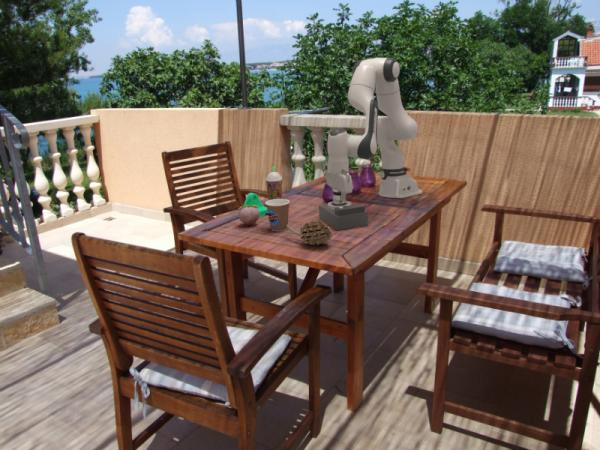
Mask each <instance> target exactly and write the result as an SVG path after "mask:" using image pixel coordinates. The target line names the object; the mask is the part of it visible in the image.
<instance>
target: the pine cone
mask: <svg viewBox="0 0 600 450" xmlns="http://www.w3.org/2000/svg"><path fill="white" fill-rule="evenodd" d="M329 226H330V225H328V226H327V225H326V224H325V222H322V220H320V219H316V220H312V221H310V222H305V223H304V224H303V226H301V227H300V230H299V231H297V230H296V229H293V228H292V227H291V226H290V225H289V224H288V225H287V226H286V227H287V229H286V230H288V231H290V232H291V233H292V234H294V235H296V236H300V239H301V240H302V241H303V243H304V244H306V245H307V244H308V245H313V246H315V244H316V245H317V246H319V245H321V244H324V245H325V244H327V243H328V241H330V240H331V239H332V238H333V231H332V230H331V229H330V227H329Z"/></svg>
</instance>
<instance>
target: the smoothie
mask: <svg viewBox="0 0 600 450" xmlns="http://www.w3.org/2000/svg"><path fill="white" fill-rule="evenodd" d="M265 183H266V185H265V186H266V192H267V198H268V199H267V201H269V200H273V199H283V177H282V175H281V174H280V173H279V172H278V171H275V167H274V166H273V165H272V171H271V172H269V173H268V174H267V175H266V178H265Z"/></svg>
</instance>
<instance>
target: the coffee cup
mask: <svg viewBox="0 0 600 450" xmlns="http://www.w3.org/2000/svg"><path fill="white" fill-rule="evenodd" d="M290 202H291V201H290V200H289V199H285V198H282V199H273V200H269V201H268V200H266V201H265V207H267V212H268V213H267V216H268V221H269V222H268V223H269V226H270V229H271V231H272V232H277V231H278V232H284V230H285V231H287V230H288V229H287V227H286V226H287V225H288V226H289V213H290V211H289V210H290Z"/></svg>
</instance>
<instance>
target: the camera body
mask: <svg viewBox="0 0 600 450" xmlns="http://www.w3.org/2000/svg"><path fill="white" fill-rule="evenodd" d="M318 218H319V220H320V221H323V223H326V224H327V225H328V226H330V227H331V228H333V229H334V230H336V231H343V230H349V229H356V228H360V227H367V226H368V223H369V222H368V218H369V215H368V211H367V210H366V207H365V205H363V204H361V203H360V204H358V203H357V204H353V203H352V202H351V201H347V200H346V205H343V206H334V205H333V200H332V201H330V202H328V203H326V204H320V205H318Z"/></svg>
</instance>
